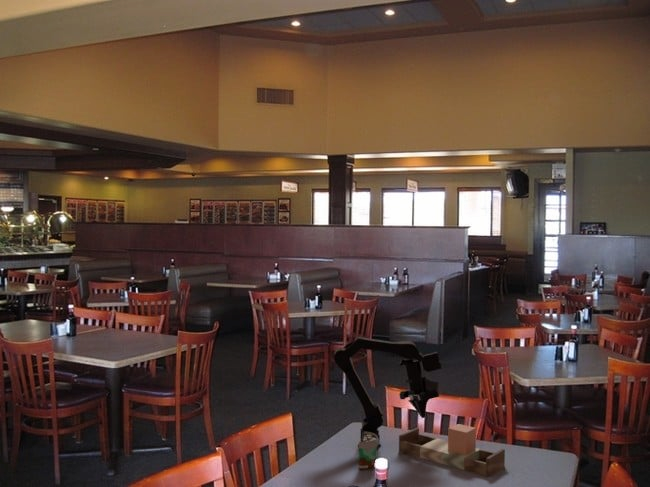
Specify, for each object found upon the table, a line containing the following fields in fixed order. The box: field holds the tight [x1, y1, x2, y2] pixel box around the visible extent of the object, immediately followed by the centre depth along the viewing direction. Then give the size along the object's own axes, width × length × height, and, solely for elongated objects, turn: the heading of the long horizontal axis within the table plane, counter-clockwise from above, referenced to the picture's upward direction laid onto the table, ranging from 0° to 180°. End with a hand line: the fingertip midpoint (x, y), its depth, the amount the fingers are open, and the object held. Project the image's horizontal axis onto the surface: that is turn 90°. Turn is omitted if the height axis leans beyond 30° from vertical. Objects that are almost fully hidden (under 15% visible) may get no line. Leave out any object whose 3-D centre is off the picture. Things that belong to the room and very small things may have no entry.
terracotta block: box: [447, 423, 477, 456], centre depth 225 cm, size 7×7×8 cm
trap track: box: [398, 427, 506, 478], centre depth 228 cm, size 36×12×6 cm, turn 50°
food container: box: [358, 432, 379, 471], centre depth 220 cm, size 12×6×10 cm, turn 168°
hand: (423, 417), depth 236 cm, fingers closed
